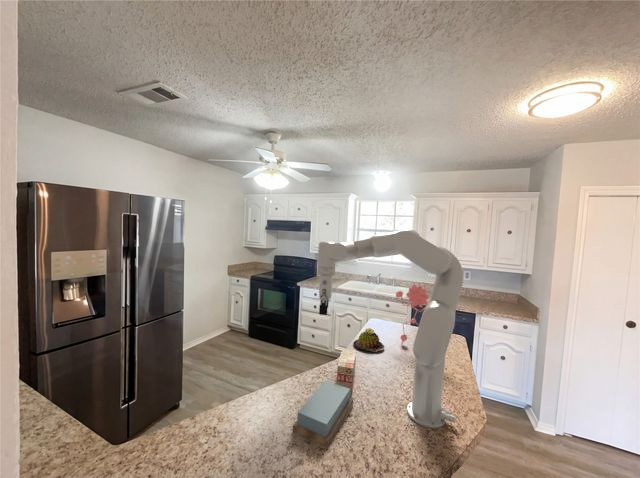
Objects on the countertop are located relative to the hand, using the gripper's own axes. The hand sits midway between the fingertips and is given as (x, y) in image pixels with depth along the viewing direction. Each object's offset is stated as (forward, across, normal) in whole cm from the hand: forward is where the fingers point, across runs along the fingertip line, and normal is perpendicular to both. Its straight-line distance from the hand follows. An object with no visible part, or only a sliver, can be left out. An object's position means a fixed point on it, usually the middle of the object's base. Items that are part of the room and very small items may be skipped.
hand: (323, 310), depth 113 cm
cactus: (+30, +37, -24) cm, 54 cm away
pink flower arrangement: (+30, +43, -51) cm, 73 cm away
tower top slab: (+26, -24, -4) cm, 36 cm away
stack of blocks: (+30, 0, -11) cm, 32 cm away
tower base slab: (+30, -24, -4) cm, 39 cm away
